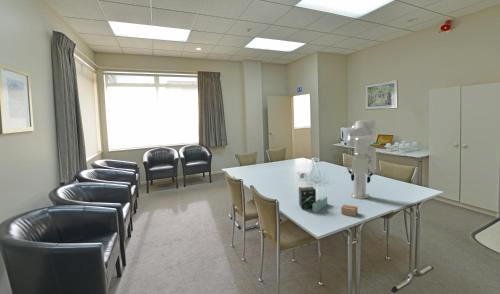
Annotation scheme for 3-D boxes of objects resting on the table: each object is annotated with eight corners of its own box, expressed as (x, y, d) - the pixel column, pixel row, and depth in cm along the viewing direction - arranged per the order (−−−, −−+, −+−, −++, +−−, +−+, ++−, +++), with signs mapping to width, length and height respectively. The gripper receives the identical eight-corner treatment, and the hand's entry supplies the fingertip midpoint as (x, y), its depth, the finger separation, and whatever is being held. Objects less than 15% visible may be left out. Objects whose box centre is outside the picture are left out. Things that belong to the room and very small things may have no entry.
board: (323, 203, 190) (323, 196, 189) (327, 204, 188) (327, 196, 187) (312, 211, 175) (312, 203, 174) (316, 212, 173) (316, 204, 172)
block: (344, 210, 174) (344, 204, 174) (357, 213, 169) (357, 206, 168) (341, 214, 169) (341, 207, 168) (355, 216, 163) (355, 209, 163)
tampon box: (312, 204, 189) (312, 186, 188) (316, 208, 180) (316, 189, 178) (298, 204, 189) (298, 186, 187) (301, 209, 180) (301, 190, 178)
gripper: (376, 156, 155) (376, 182, 157) (349, 154, 166) (349, 178, 168) (373, 157, 150) (373, 184, 151) (345, 156, 161) (345, 181, 163)
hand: (360, 181), depth 160 cm, fingers open, 9 cm apart
